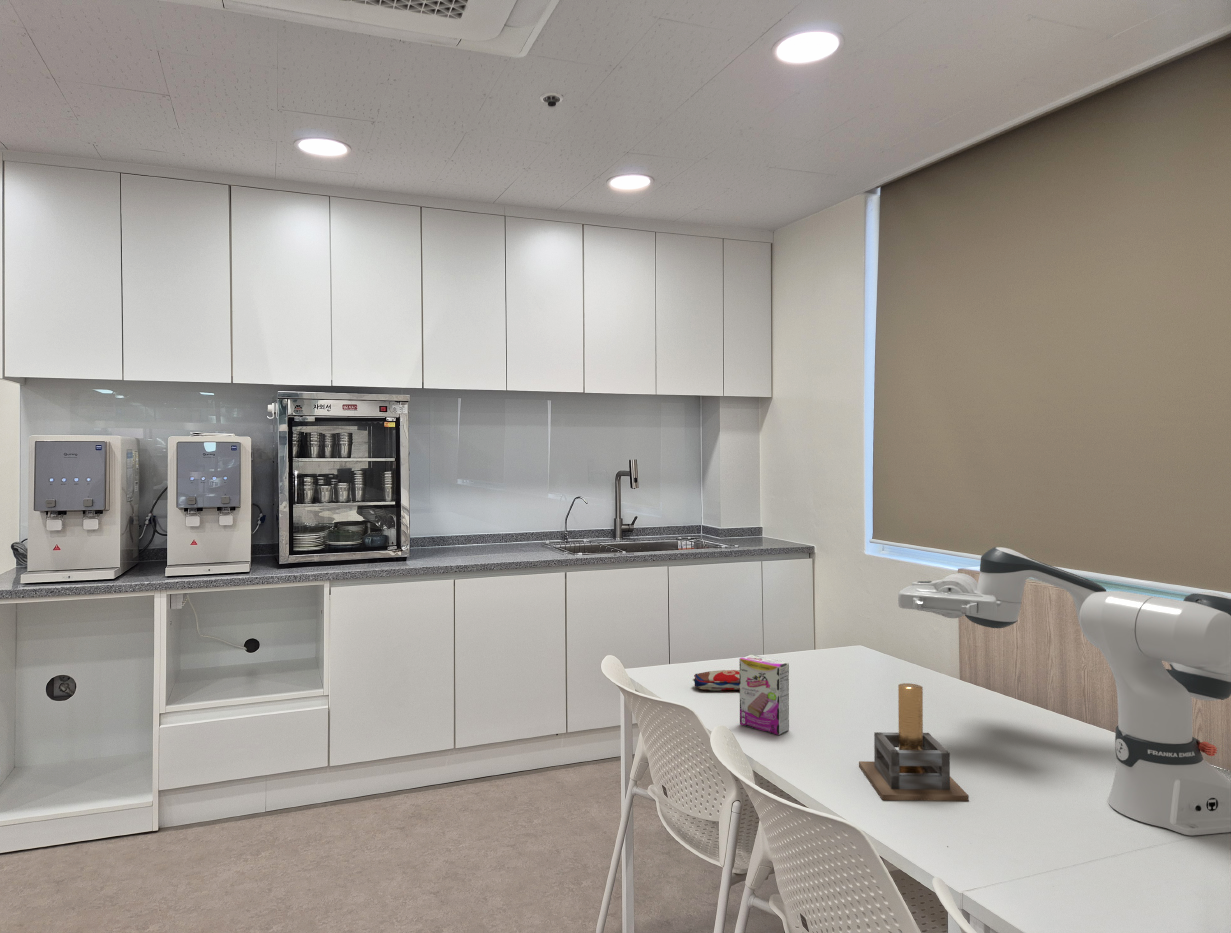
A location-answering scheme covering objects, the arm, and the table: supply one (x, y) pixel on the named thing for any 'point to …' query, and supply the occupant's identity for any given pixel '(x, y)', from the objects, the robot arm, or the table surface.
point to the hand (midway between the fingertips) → (941, 608)
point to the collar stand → (911, 785)
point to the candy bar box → (764, 694)
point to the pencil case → (718, 680)
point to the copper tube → (910, 721)
